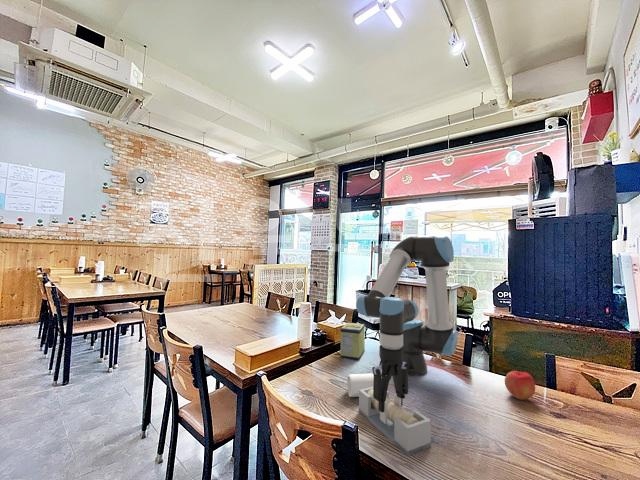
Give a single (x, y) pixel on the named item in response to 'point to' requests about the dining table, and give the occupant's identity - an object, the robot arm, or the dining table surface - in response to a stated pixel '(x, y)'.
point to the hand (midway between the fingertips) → (390, 419)
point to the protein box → (352, 341)
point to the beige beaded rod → (393, 410)
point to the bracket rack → (398, 426)
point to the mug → (358, 383)
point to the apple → (520, 384)
